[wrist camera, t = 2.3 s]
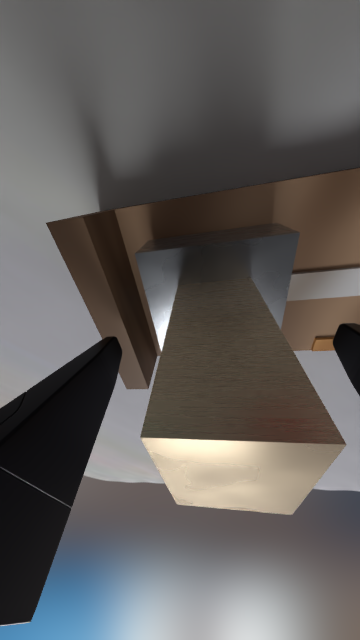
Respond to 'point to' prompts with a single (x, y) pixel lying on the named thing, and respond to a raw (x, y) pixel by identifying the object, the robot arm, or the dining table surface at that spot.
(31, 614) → the robot arm
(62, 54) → the dining table surface
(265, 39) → the dining table surface
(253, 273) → the handle
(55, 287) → the dining table surface
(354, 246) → the base
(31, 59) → the dining table surface
